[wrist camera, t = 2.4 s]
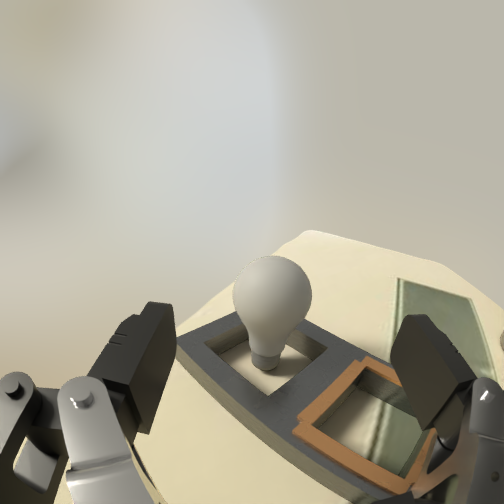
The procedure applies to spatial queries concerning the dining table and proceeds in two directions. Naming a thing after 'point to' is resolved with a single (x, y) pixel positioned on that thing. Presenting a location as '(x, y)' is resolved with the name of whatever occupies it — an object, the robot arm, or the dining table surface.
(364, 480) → the rail
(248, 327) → the lightbulb
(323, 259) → the dining table surface
